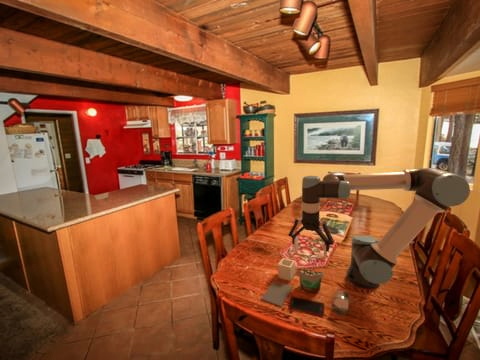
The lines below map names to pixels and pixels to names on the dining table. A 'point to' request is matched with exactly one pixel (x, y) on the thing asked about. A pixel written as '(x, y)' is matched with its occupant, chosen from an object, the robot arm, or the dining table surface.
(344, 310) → the silver round cylinder
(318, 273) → the food container
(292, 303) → the cell phone
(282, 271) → the cup
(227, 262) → the dining table surface
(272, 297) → the felt pad
